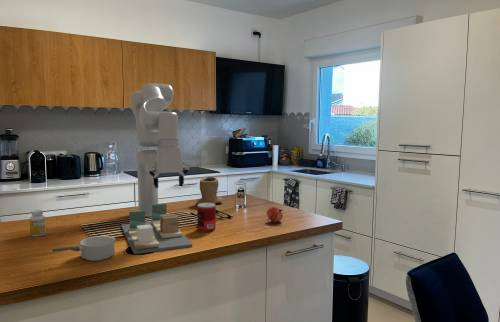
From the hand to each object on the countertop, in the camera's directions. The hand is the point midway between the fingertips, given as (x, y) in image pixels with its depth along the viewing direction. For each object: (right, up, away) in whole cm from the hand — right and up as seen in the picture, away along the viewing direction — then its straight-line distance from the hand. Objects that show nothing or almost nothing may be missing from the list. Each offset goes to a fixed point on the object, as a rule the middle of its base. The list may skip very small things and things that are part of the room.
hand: (168, 186), depth 155 cm
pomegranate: (+43, -18, +27) cm, 54 cm away
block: (-7, -19, -10) cm, 23 cm away
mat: (-7, -20, +3) cm, 21 cm away
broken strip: (-9, -20, -4) cm, 22 cm away
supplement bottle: (-53, -20, +3) cm, 57 cm away
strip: (-3, -18, +9) cm, 21 cm away
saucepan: (-23, -23, -23) cm, 40 cm away
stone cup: (+11, -14, +62) cm, 64 cm away
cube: (0, -18, +2) cm, 18 cm away
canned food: (+14, -20, +13) cm, 27 cm away
